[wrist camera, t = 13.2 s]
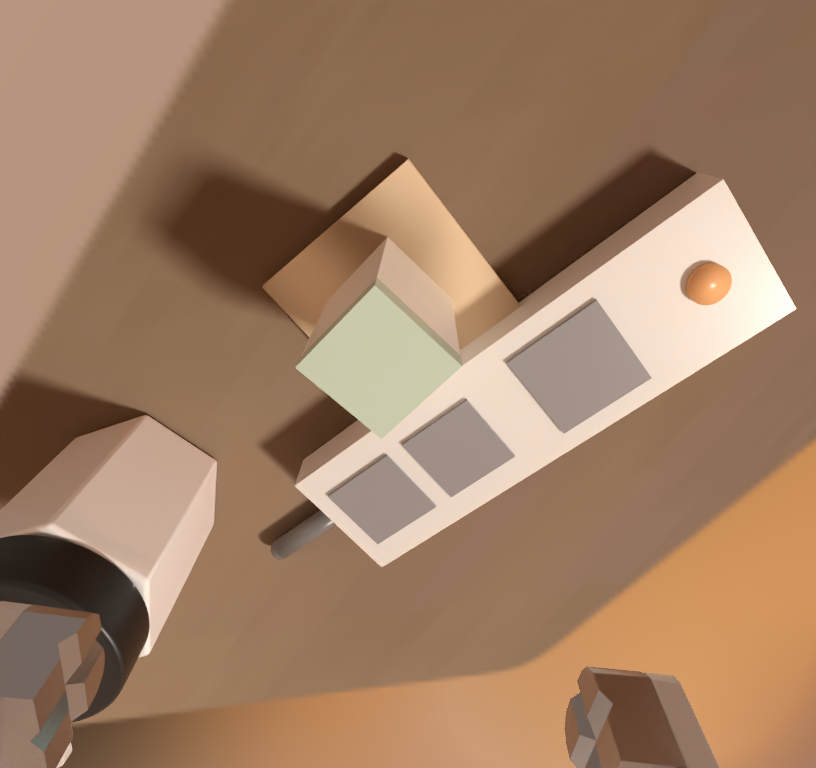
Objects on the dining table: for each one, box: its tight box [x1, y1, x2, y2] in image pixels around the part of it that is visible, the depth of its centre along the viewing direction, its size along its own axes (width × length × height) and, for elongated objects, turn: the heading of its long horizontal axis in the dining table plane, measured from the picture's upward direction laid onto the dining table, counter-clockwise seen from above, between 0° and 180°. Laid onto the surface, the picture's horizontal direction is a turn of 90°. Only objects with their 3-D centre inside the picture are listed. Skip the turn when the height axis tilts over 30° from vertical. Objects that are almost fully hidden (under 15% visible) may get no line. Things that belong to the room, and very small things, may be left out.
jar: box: [0, 415, 217, 722], centre depth 28 cm, size 9×8×12 cm
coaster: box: [262, 158, 521, 350], centre depth 28 cm, size 9×9×1 cm
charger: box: [295, 237, 462, 439], centre depth 24 cm, size 4×4×8 cm
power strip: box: [271, 173, 796, 567], centre depth 30 cm, size 30×7×3 cm, turn 129°
